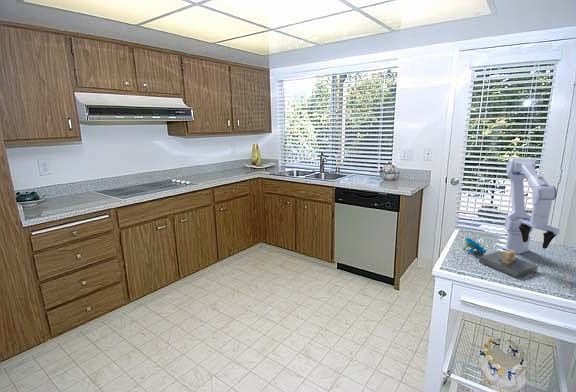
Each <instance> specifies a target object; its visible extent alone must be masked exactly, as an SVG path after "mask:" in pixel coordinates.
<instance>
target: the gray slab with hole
mask: <svg viewBox="0 0 576 392" xmlns="http://www.w3.org/2000/svg"><path fill="white" fill-rule="evenodd" d="M502 254H503V251H495V252H491V253H489V254H485V255H481V256H480V255H479V260H478V262H479V263H481V264H484V265H486V266H488V267H491V268H492V269H495V270H497V271H500V272H503V273H505V274H507V275H508V276H512V277H514V278H516V279H517V278H518V279H519V278H521V277H524V276H526V275H529V274H533V273H536V272H537V271H538V268H539V265H536V264H533V263H532V262H528V261H526V260H523V259H521V258H517V257H516V256H515V259H514V263H512V264H506V263H504V262H501V260H502Z"/></svg>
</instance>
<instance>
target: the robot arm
mask: <svg viewBox="0 0 576 392" xmlns="http://www.w3.org/2000/svg"><path fill="white" fill-rule="evenodd" d="M505 167H506V176H507V178H508V179H510V194H511V213H509V214H507V215H506V216H505V220H504V229H505V230H506V232H507V236H506V243H505V246H504V245H503V246H501V249H503V250H504V251H506V250H512V251H515V252H516V253H515V255H516V254H517V255H519V254H523V253H526V252H529V251H531V249H529V246H530V242H531V236H530V233H531V232H532V231H533V229H536V230H541V231H543V243H542V247H541V248H542V249H543V250H546V249H548V247H549V245H550V243H552V241H553V239H554V238H556V236H557V235H559V234H560V233H561V232H560V231H561V229H559V228H557V227H553V226H551V225H549V224H548V223H549V218H550V213H551V208H552V203H553V201H554V200H556V199H557V195H558V191H557V188H556V186H554V185H551V184H550V185H549V183H548V182H547V180H546V179H545V178H544V176H542V175H540V174H538V173H537V170H536V161H535V159H532V158H530V159H529V158H528V159H525V158H524V159H521V158H519V159H518V158H517V159H516V158H510V159H509V160H508V161H507V163H506V166H505ZM525 179H528V180H527V184H528V186H529V187H530V189H531V190H532V193H531V194H532V199H531V200H532V210H531V215H529V214H528V213H526V207H525V206H526V205H525V187H524V180H525Z"/></svg>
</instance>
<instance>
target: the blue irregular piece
mask: <svg viewBox="0 0 576 392" xmlns="http://www.w3.org/2000/svg"><path fill="white" fill-rule="evenodd" d="M467 248H470V249H469V250H468V251H467V254H471V253H472V252H473V251H474V250H476V251H478V252H480V253H482V254H485V255H486V254H487V253H486V252H487V250H486V249H485V248H484V247H483V246H481V244H480V243H479V242H476V241H475V240H474V239H471V238H470V237H466V238H465V246H464V247H463V248H462V249H463V250H466V249H467Z"/></svg>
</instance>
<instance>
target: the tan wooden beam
mask: <svg viewBox="0 0 576 392" xmlns="http://www.w3.org/2000/svg"><path fill="white" fill-rule="evenodd" d="M502 253H503V254H502V260H501V262H504V263H506V264H512V263H514V259H515V257H516V252H515V251H512V250H503V251H502Z"/></svg>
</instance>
